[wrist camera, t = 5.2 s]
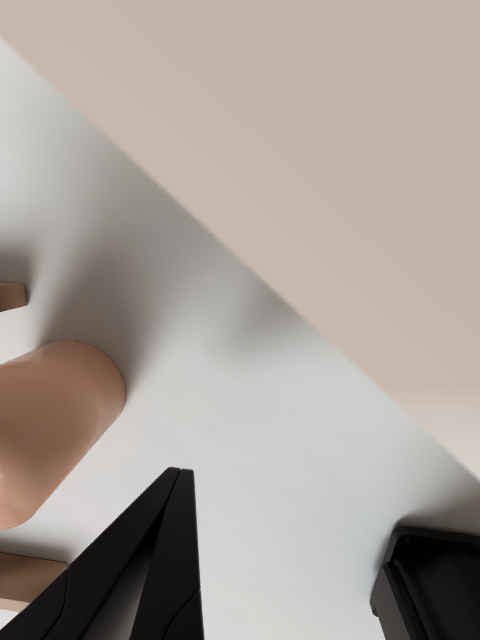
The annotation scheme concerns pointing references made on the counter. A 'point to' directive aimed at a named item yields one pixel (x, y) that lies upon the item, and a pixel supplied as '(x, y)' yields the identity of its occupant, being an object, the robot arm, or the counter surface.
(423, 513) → the counter surface
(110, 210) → the counter surface
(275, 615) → the counter surface
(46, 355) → the peach domed cylinder
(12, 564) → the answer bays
